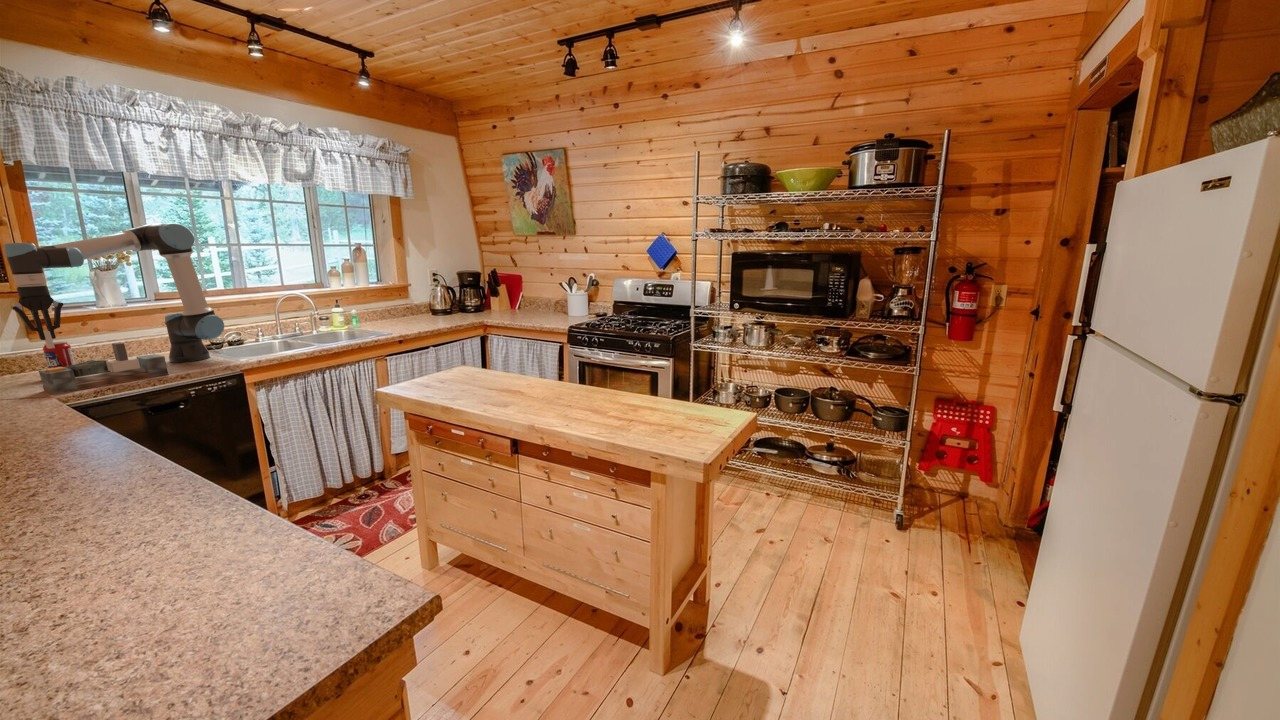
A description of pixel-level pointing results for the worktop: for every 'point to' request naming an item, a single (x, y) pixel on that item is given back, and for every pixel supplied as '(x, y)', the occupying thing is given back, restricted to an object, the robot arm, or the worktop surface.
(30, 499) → the worktop surface
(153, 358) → the rail stand
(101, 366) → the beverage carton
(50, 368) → the plunger
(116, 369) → the carriage
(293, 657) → the worktop surface
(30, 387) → the worktop surface
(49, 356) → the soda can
